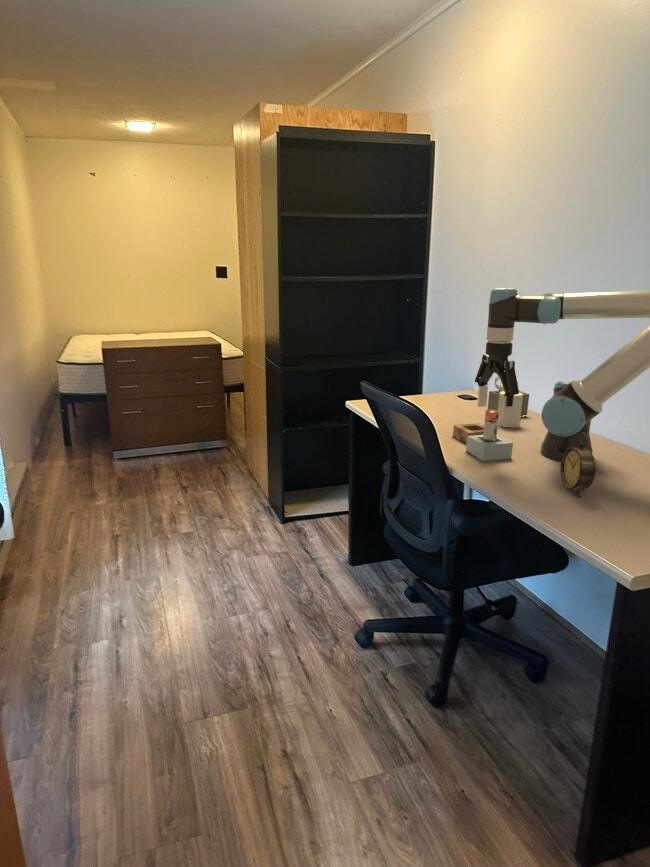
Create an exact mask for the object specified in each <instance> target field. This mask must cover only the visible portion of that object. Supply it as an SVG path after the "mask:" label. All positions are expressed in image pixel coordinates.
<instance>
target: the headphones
mask: <svg viewBox="0 0 650 867" xmlns="http://www.w3.org/2000/svg"><path fill="white" fill-rule="evenodd" d="M499 380H501V379H500V377H499V376H498V375H497V377H495V379H494V387H495V388H496V389H497V390H498V391H499V392H502V391H504V388H503V385H502V383H501V384H497V382H498V381H499ZM518 383H519V382H517V384H518Z"/></svg>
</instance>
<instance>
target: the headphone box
mask: <svg viewBox="0 0 650 867" xmlns="http://www.w3.org/2000/svg"><path fill="white" fill-rule="evenodd" d="M508 391H509V390H508ZM519 392H520V393H522V394H523V398H522V407H521V416H523V415H527V416H528V411H529V410H528V408H529V399H530V394H529V393H526V392H524V391H522V390H519ZM499 394H500V392H499V390H490V391H488V398H487V410H496V411H498V404H499Z"/></svg>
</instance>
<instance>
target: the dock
mask: <svg viewBox="0 0 650 867" xmlns="http://www.w3.org/2000/svg"><path fill="white" fill-rule="evenodd" d="M513 446H514V442H512V441H510V440H508V439H506V438H504V437H502V436H501V435H498V434H497V439H496V442H489V443H486V442H484V441H483V435H474V436H467V444H466V446H465V448H466V449H465V452H467V451H468V452H469V454H470V453H471V454H470V455H472V456H473V455H474V456H473V457H475V456H476V457H475V458H476V459H478V458H479V460H480V461H482V462H487V461H498V460H507V459H508V460H509V459H510V460H511V459H512V456H513ZM468 452H467V453H468Z"/></svg>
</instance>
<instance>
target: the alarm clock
mask: <svg viewBox="0 0 650 867" xmlns="http://www.w3.org/2000/svg"><path fill="white" fill-rule="evenodd" d="M581 434H584V435H585V439H586V441H587V437H586V434H585V433H583V432H582V433H580V435H579V441H580V447H579V448H575V447H570V448H568V449H567V450H566V451H565V452H564V454H563V456H562V459H561V460H560V466H559V467H560V470H559V471H560V478H561V481H562V483H563V486H564V487H565V488H567V489H568V490H577V491H576V492H577V496H578V498H581V497H582V495H581V491H583V492H585V490H587V489H588V488H589V487H591V485H592V484H593V482H594V480H595V477H596V470H597V469H596V468H597V466H596V460H595V457H594V455H593V453H591V452H590V451H589V450H588V449H586V448H583V445H585V444H586V441H585V443H581V440H580V436H581Z"/></svg>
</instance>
